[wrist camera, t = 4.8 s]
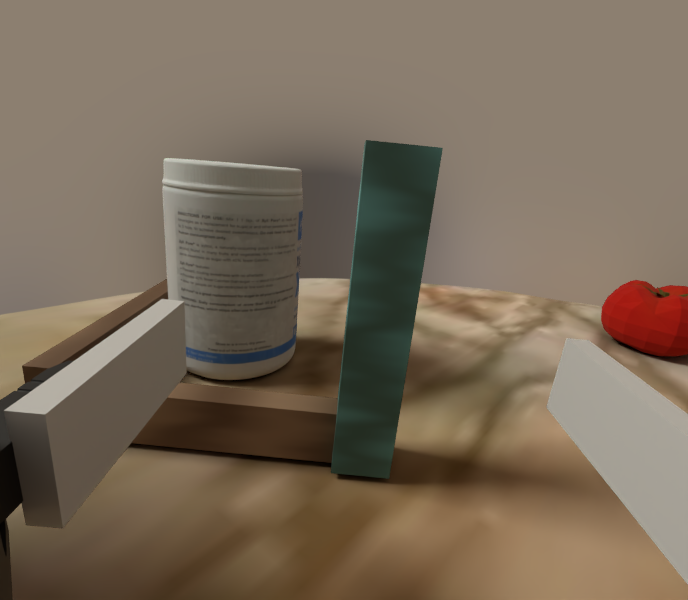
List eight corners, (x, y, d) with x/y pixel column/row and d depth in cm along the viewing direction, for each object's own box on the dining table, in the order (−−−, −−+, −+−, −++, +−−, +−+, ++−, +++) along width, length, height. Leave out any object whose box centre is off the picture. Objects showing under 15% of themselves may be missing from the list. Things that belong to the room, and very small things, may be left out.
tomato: (585, 342, 44) (603, 283, 42) (606, 320, 51) (623, 270, 49) (702, 378, 38) (730, 312, 35) (706, 347, 45) (729, 291, 43)
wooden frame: (22, 442, 21) (-40, 99, 16) (177, 313, 39) (171, 134, 34) (389, 478, 21) (442, 148, 16) (373, 333, 39) (396, 156, 34)
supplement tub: (318, 361, 33) (334, 173, 29) (211, 401, 26) (210, 163, 22) (249, 323, 39) (254, 162, 35) (148, 348, 33) (137, 152, 28)
